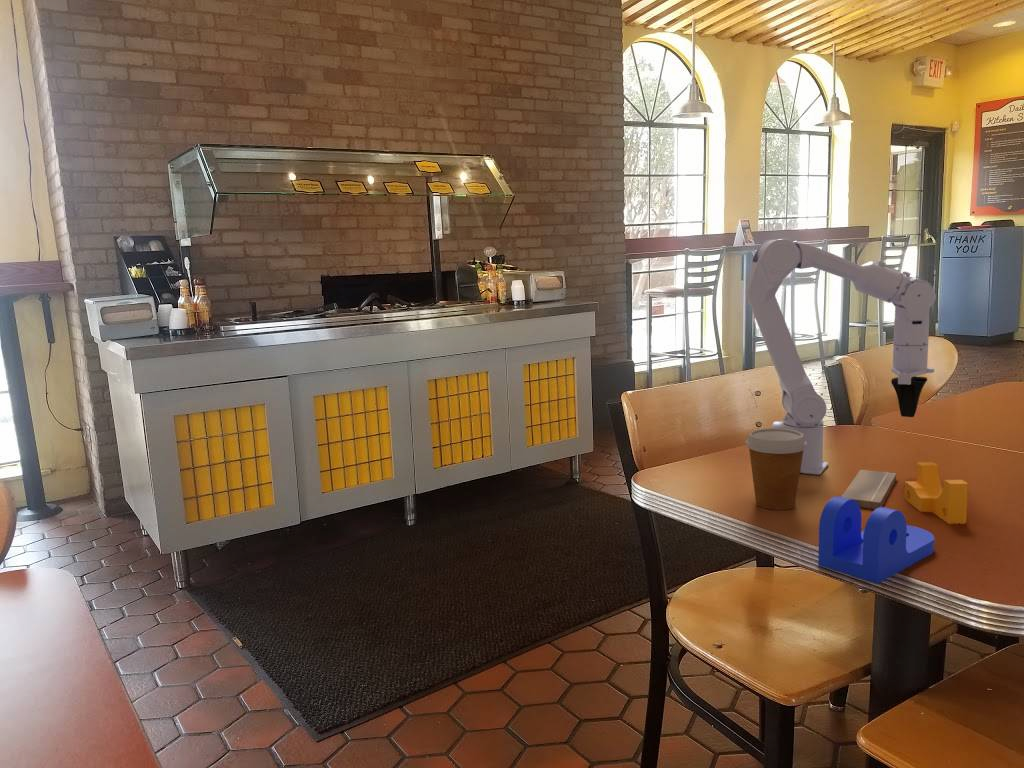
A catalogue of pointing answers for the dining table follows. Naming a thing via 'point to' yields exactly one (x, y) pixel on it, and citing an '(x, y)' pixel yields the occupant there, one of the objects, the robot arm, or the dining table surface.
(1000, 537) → the dining table surface
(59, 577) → the dining table surface
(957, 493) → the pipe clamp
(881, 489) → the board
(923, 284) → the robot arm
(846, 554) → the bracket
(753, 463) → the disposable coffee cup
